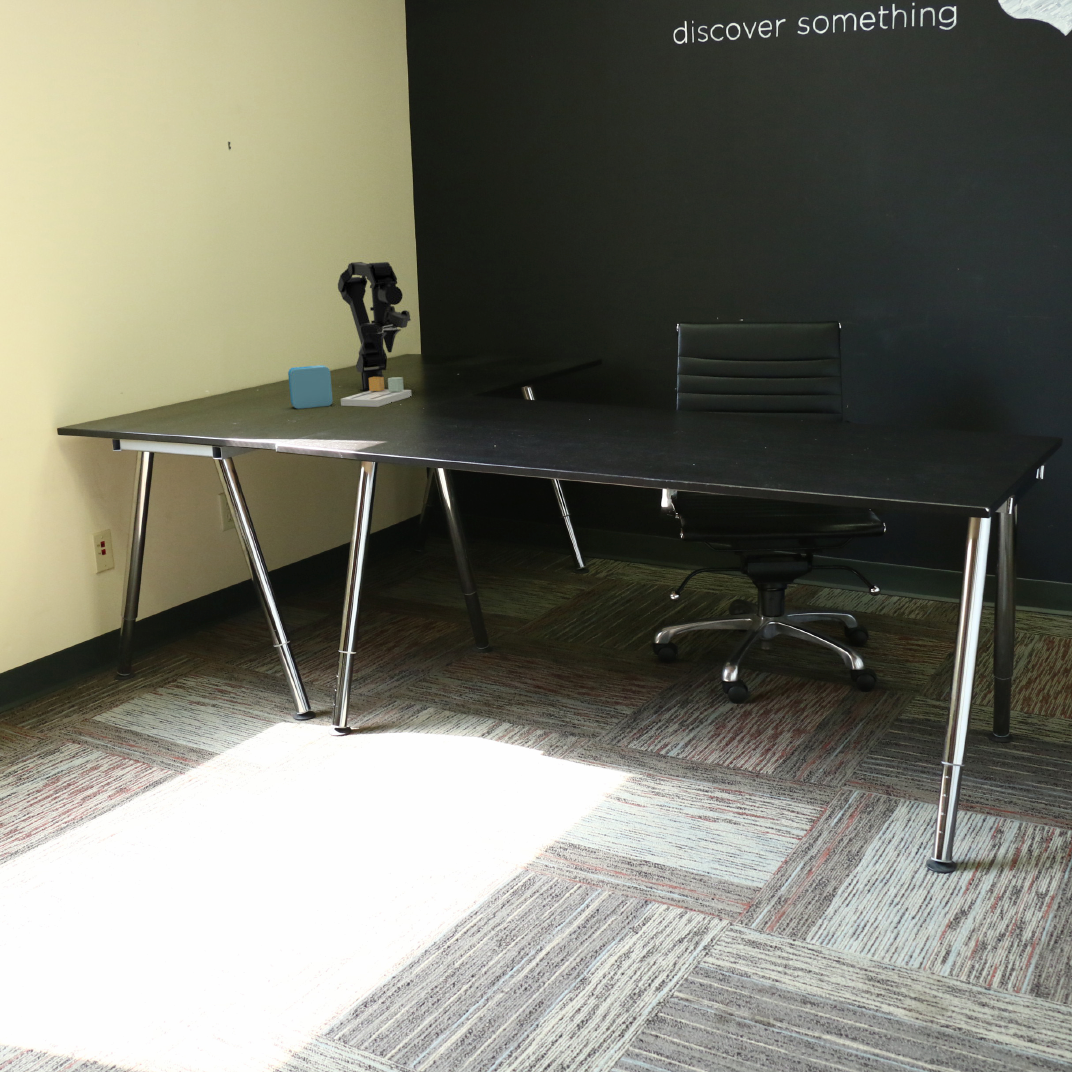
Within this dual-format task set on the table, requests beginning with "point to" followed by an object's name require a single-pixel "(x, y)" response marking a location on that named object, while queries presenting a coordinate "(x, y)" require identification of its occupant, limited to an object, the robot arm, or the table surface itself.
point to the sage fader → (395, 384)
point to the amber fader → (376, 383)
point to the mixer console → (375, 398)
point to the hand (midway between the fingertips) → (385, 353)
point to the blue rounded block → (310, 386)
